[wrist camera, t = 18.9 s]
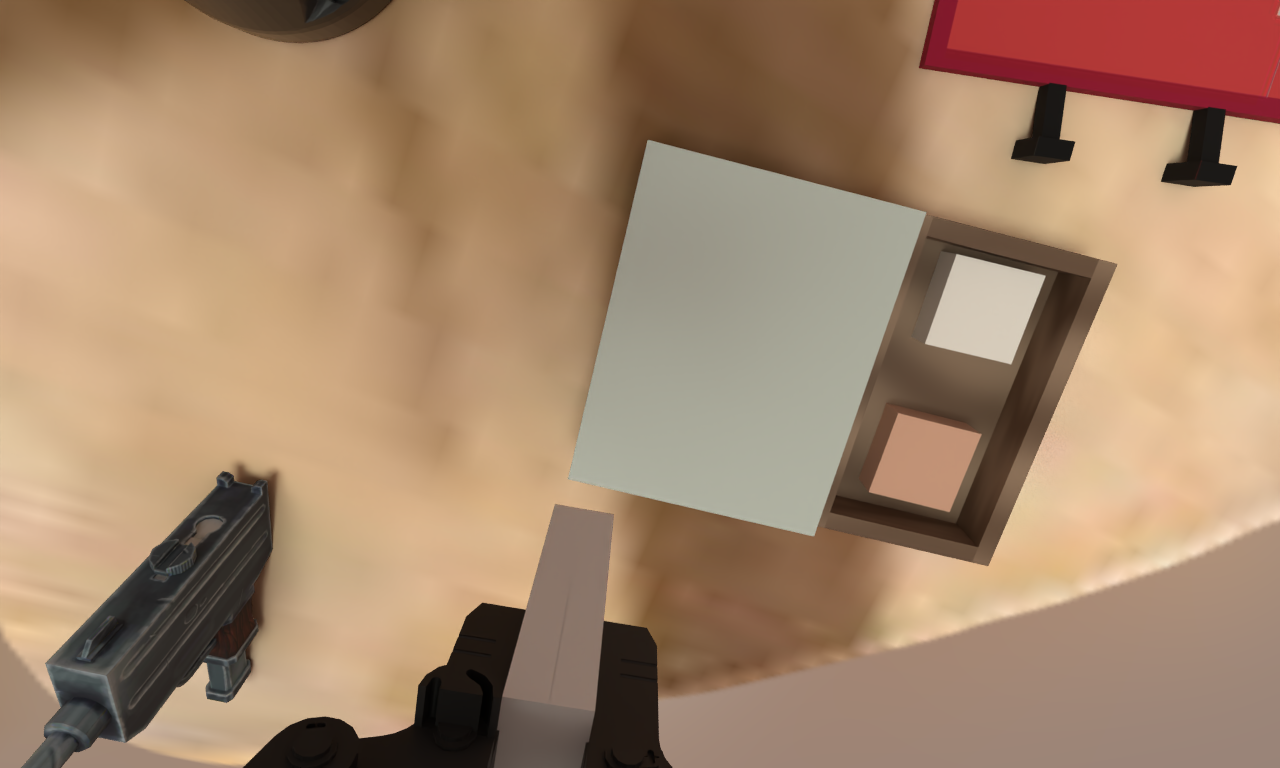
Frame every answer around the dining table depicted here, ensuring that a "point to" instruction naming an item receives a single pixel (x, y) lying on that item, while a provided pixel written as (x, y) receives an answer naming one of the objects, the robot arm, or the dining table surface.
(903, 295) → the tray
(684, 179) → the board
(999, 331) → the tile
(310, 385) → the dining table surface
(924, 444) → the tile
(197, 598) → the gun
